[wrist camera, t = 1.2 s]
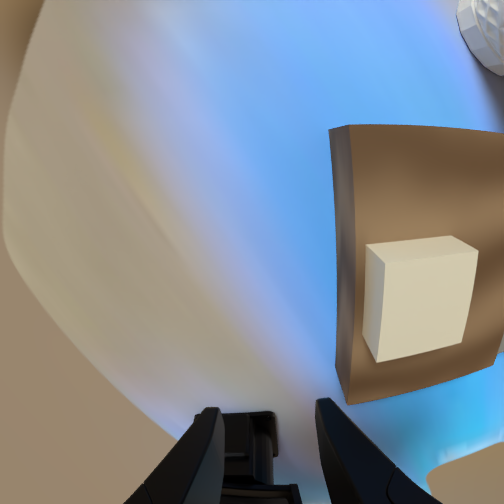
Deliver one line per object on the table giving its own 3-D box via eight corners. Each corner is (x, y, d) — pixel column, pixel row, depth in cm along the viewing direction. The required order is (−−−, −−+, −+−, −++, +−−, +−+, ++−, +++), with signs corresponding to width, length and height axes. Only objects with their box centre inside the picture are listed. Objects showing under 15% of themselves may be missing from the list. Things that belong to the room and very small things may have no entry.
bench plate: (468, 338, 21) (493, 365, 17) (335, 367, 21) (347, 405, 17) (488, 135, 16) (527, 137, 12) (328, 129, 16) (349, 124, 12)
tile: (440, 319, 15) (461, 342, 13) (362, 334, 16) (376, 362, 13) (451, 235, 14) (478, 250, 11) (365, 244, 14) (385, 263, 12)
